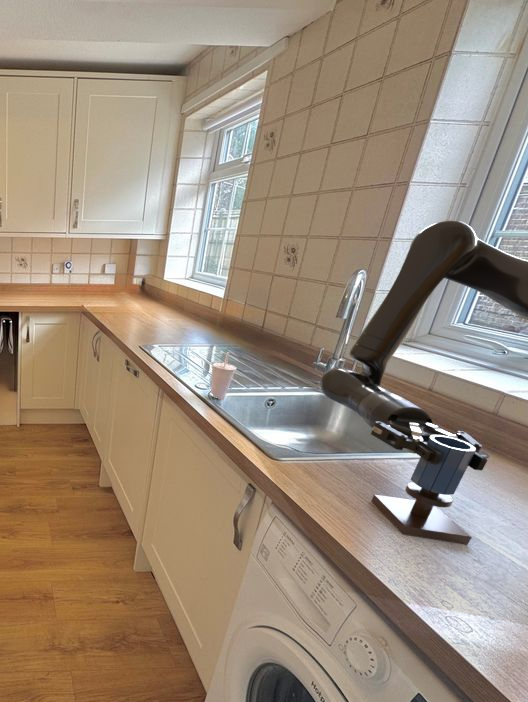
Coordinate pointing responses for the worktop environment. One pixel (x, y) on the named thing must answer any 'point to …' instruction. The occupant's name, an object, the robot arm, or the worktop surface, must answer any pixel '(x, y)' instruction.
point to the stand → (422, 515)
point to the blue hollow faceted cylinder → (444, 465)
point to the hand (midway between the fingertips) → (459, 462)
